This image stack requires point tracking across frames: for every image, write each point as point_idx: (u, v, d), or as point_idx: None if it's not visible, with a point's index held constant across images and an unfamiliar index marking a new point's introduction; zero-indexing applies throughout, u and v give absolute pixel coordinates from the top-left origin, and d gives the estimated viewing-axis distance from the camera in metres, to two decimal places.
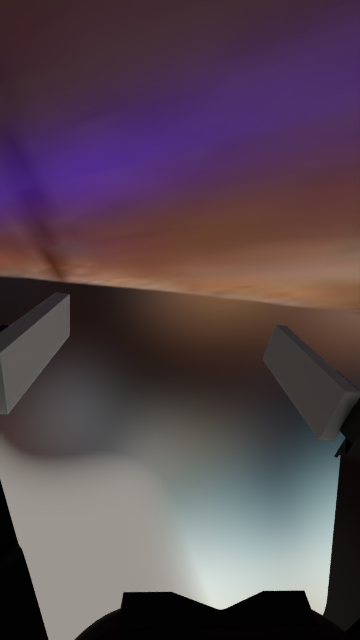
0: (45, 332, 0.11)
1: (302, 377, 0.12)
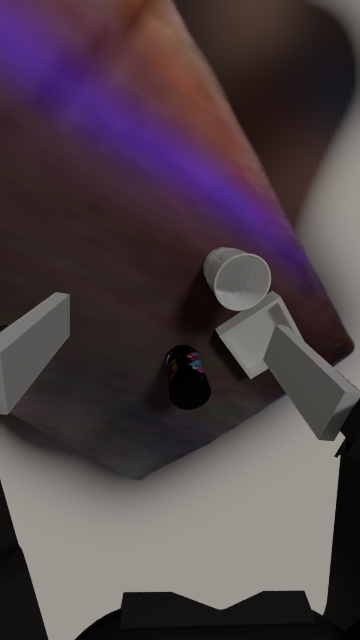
0: (45, 332, 0.11)
1: (302, 377, 0.12)
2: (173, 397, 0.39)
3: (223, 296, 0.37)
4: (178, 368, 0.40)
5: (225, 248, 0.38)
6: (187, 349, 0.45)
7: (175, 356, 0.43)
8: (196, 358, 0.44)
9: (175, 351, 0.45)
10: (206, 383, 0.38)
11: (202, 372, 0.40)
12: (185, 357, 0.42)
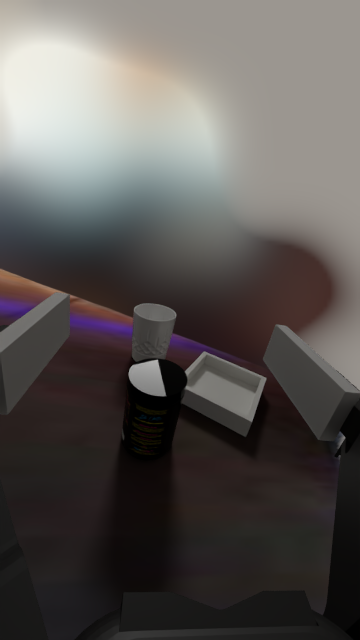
0: (45, 332, 0.11)
1: (302, 377, 0.12)
2: (135, 380, 0.26)
3: None
4: None
5: None
6: None
7: None
8: None
9: None
10: (171, 362, 0.30)
11: None
12: None
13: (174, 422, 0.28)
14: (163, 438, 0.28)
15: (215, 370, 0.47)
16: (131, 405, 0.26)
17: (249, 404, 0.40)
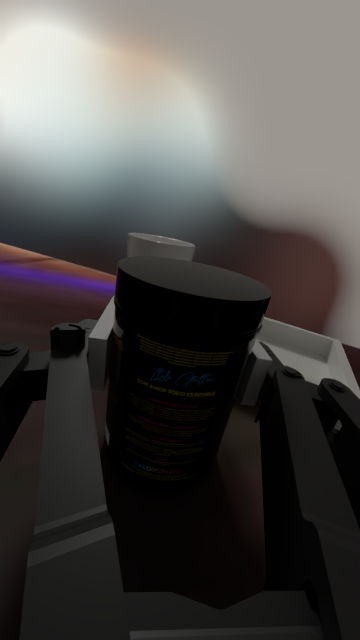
0: None
1: None
2: (137, 271, 0.09)
3: None
4: None
5: None
6: None
7: None
8: None
9: None
10: (215, 267, 0.13)
11: None
12: None
13: (235, 396, 0.11)
14: (208, 436, 0.11)
15: None
16: (127, 346, 0.09)
17: None
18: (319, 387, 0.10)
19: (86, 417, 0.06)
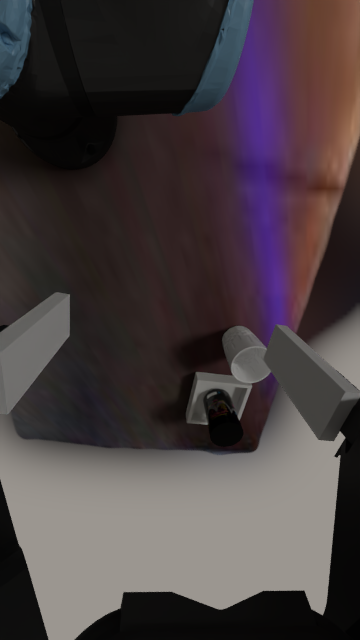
0: (45, 332, 0.11)
1: (302, 377, 0.12)
2: (216, 429, 0.47)
3: None
4: (228, 411, 0.50)
5: (251, 332, 0.50)
6: (230, 398, 0.55)
7: (223, 398, 0.53)
8: None
9: (222, 393, 0.55)
10: (241, 435, 0.48)
11: None
12: (231, 405, 0.52)
13: None
14: None
15: (239, 391, 0.57)
16: (209, 419, 0.50)
17: None
18: None
19: None
